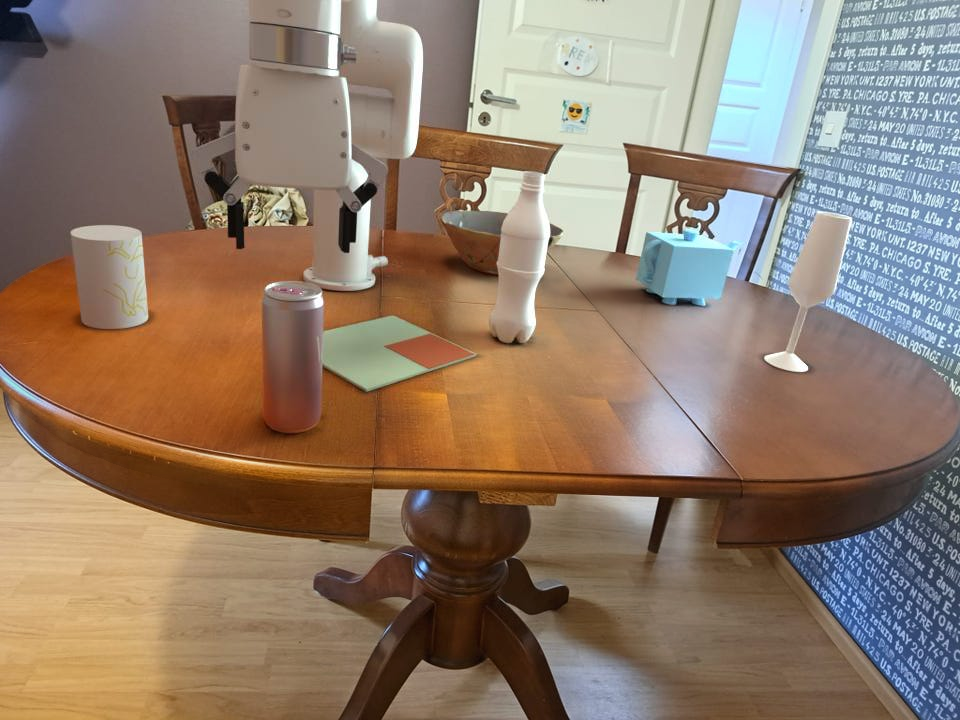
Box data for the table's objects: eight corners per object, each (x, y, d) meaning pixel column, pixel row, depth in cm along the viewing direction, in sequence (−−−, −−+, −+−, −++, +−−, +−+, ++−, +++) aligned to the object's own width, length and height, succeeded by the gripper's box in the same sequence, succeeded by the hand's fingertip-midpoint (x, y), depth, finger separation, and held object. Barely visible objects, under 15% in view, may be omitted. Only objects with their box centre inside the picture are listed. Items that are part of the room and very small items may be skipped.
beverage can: (269, 406, 74) (268, 278, 68) (324, 410, 75) (327, 283, 69) (257, 433, 69) (255, 296, 63) (316, 437, 69) (319, 301, 63)
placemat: (392, 317, 105) (393, 314, 105) (476, 356, 94) (476, 353, 94) (282, 343, 90) (282, 339, 90) (366, 392, 80) (366, 388, 80)
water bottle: (537, 335, 105) (564, 174, 95) (525, 350, 99) (553, 179, 89) (495, 325, 107) (517, 167, 97) (480, 339, 100) (502, 171, 91)
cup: (121, 333, 87) (112, 244, 82) (67, 322, 88) (55, 233, 84) (161, 314, 95) (154, 231, 90) (110, 304, 96) (101, 222, 91)
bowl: (579, 281, 138) (588, 233, 134) (490, 294, 122) (497, 240, 118) (499, 249, 155) (505, 207, 151) (412, 257, 139) (416, 210, 135)
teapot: (647, 305, 128) (663, 234, 122) (622, 287, 137) (636, 221, 132) (744, 308, 134) (763, 241, 128) (713, 290, 143) (730, 227, 138)
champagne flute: (813, 365, 108) (864, 218, 98) (801, 375, 103) (853, 221, 93) (771, 351, 111) (816, 208, 102) (758, 360, 106) (804, 211, 97)
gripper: (386, 66, 63) (375, 242, 70) (189, 40, 58) (198, 234, 64) (402, 67, 57) (389, 261, 63) (182, 38, 51) (193, 254, 58)
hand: (293, 247), depth 64 cm, fingers open, 9 cm apart
